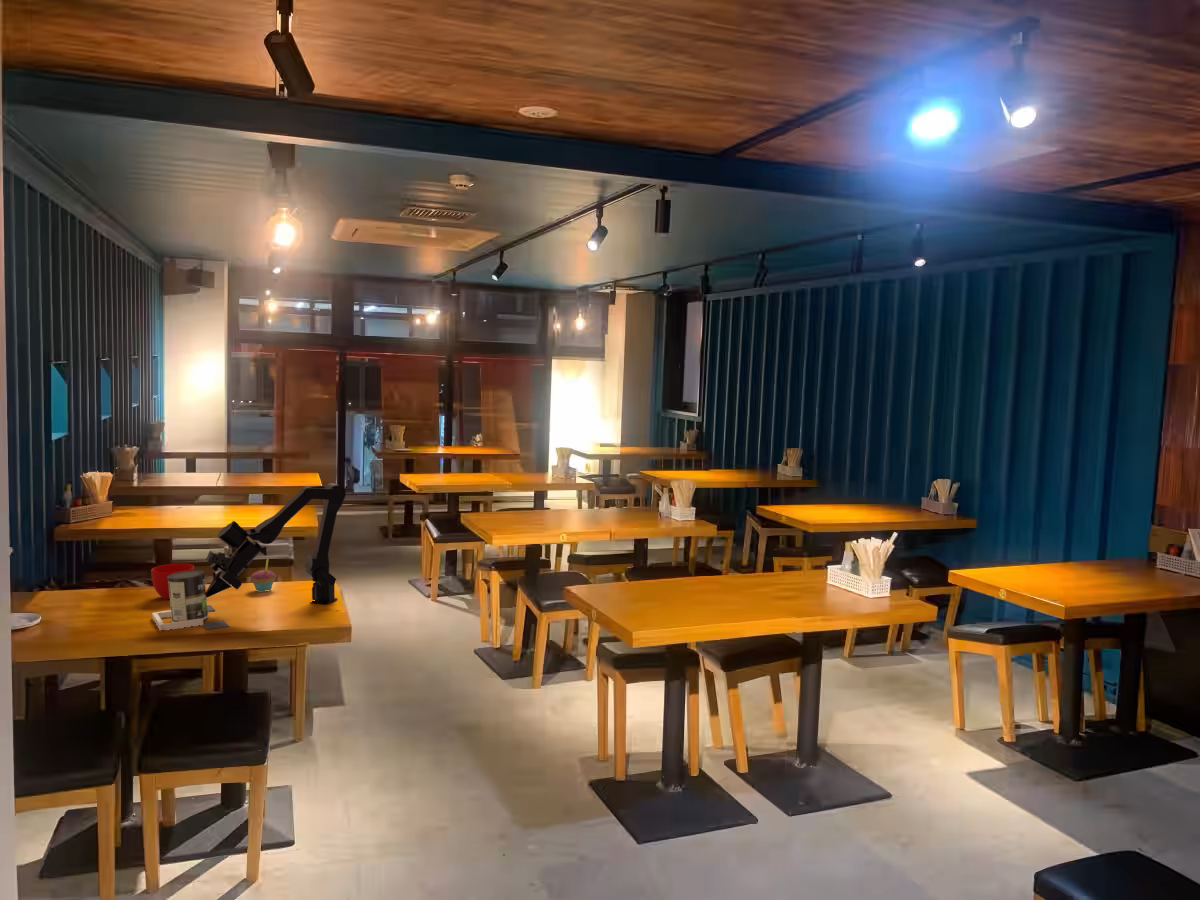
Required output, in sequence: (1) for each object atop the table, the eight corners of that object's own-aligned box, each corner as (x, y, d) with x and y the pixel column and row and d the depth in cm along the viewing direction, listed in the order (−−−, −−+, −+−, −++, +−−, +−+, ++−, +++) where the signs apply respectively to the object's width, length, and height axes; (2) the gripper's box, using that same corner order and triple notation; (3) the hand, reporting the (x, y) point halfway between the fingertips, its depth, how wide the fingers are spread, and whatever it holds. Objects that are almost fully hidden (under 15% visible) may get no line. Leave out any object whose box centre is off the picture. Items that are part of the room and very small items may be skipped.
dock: (193, 612, 273) (193, 607, 273) (203, 624, 261) (203, 619, 260) (152, 618, 267) (152, 612, 266) (160, 631, 254) (159, 625, 254)
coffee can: (211, 612, 272) (207, 568, 270) (204, 622, 262) (200, 576, 260) (175, 615, 269) (171, 571, 268) (167, 625, 259) (163, 579, 258)
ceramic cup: (195, 602, 285) (194, 572, 284) (144, 601, 285) (143, 571, 284) (213, 592, 298) (212, 564, 297) (164, 591, 298) (163, 563, 297)
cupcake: (280, 588, 306) (280, 554, 305) (269, 594, 297) (268, 559, 296) (257, 587, 306) (256, 553, 305) (245, 593, 298) (244, 558, 297)
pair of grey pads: (210, 605, 281) (210, 605, 281) (228, 626, 259) (228, 625, 259) (190, 608, 278) (190, 607, 278) (207, 629, 256) (207, 628, 256)
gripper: (216, 536, 277) (179, 574, 271) (229, 546, 261) (190, 587, 256) (243, 557, 282) (207, 595, 277) (257, 569, 267) (219, 609, 261)
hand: (205, 596), depth 268 cm, fingers closed, pressing on coffee can
